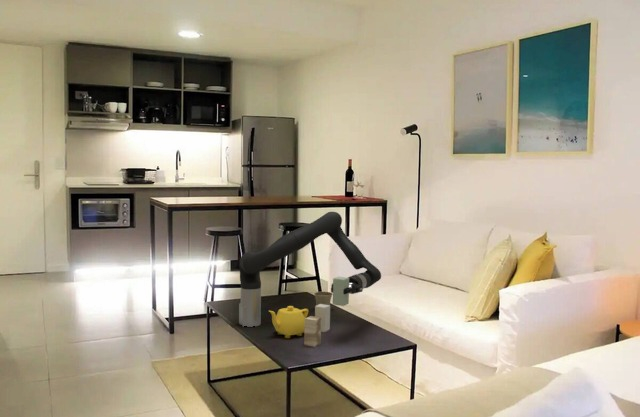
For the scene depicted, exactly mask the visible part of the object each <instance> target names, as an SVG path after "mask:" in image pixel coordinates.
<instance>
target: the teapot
mask: <svg viewBox="0 0 640 417" xmlns="http://www.w3.org/2000/svg"><path fill="white" fill-rule="evenodd" d="M268 312H270V314H271V322H272V325H273V327H274V329H275V331H276V332H277V335H284V338H285V339H290V338H291V336H295V335H296V336H297V337H302V336H303V333H304V329H305V318H307V317H308V314H309V309H308V308H303V309H299V308H296V307H294V306H293V305H288V306H287V307H285V308H284V307H283V308H280V309H278V311H277V313H276V312H275V311H273V310H268Z"/></svg>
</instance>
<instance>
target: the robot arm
mask: <svg viewBox="0 0 640 417" xmlns="http://www.w3.org/2000/svg"><path fill="white" fill-rule="evenodd" d="M342 223H343V217H342V215H341V214H340V213H338V212H337V211H328V212H326V213H324V214H323V215H322V216H321V217H318V218H317V219H316V220H314V221H312V222H310V223H308V224H305V225H303V226H301V227H298V228H296V229H294V230H292V231H289V232H288V233H286V234H284V235H282V236H281V237H279V238H278V239H276V240H275V241H274V242H273V243H271V245H269V246H267V248H264V249H262V250H260V251H257V252H254V251H247V252H246V251H245V252H244V253H243V254H242V255H241V257H240V259H239V260H240V261H239V281H240V302H239V303H238V324H239V325H240V326H241V325H242V326H241V327H242V328H244V326H247V327H246V328H251V327H252V328H253V326H255V327H258V326H261V321H262V320H261V314H262V313H261V312H262V311H261V310H262V308H261V306H262V305H261V304H262V281H261V276H260V275H261V271H262V270H264V269H266V268H267V267H268V266H270V265H271V264H273V263H275V262H277V261H279V260H281V259H283V258H286V257H287V256H290V255H292V254H294V253H297V251H300V250H301V249H303V248H305V247H306V246H308V245H309V244H311V243H312V242H313V241H315V240H316V239H317V238H319V237H321V236H323V235H325V234H327V235H328V236H329V237H330V238H331V239H332V240H333V241H334V243H335V244H336V245H337V246H338V247H339V249H340V250H341V252H342V253H343V254H344V256H345V258H346V259H347V260H348V262H349V263H350V264H351V266H352V267H353V268H354V269H355V270H361V269H363V268H364V269H365V271H363V272H359V273H355V274H353V275H351V276H348V277H347V278H349V287H348V288H345V289H344V290H343V294H347V293H349V295H354V294H358V293H361V292H362V293H363V292H364V291H363V290H364V289H368V288H370V287H372V286H373V285H374V284H377V283H378V282H379V281H380V280H381V278H382V272H381V271H380V270H379V269H378V267H377V266H375V265H374V264H373V263H371V262H370V261H369V260H368V259H367V258H366V257H365V255H364V254H363V253H362V250H360V249H359V247H358V246H357V245H356V244H355V243H354V242H353V241H351V239H350V238H349V237H348V236H347V235H346V234H345V232H344V230H343V228H342V227H341V226H342ZM330 293H332V294H333V283H332V284H331V288H330Z"/></svg>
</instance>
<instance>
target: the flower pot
mask: <svg viewBox="0 0 640 417" xmlns="http://www.w3.org/2000/svg"><path fill="white" fill-rule="evenodd" d="M313 294H314V298H315V304H316V305H315V306H317V305H319V304H324V305H330V306H331V299H332V298H333V293H332V292H331V291H330V292H329V291H315V292H314V293H313Z"/></svg>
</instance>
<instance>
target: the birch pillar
mask: <svg viewBox="0 0 640 417" xmlns="http://www.w3.org/2000/svg"><path fill="white" fill-rule="evenodd" d="M303 337H304V338H303V339H304V340H303V341H304V342H303V344H304V346H307V347H313V348H316V347H318V346H320V345H321V343H322V340H321V339H322V332H321V317H315V315H309V316H307V317H306V318H305V329H304V335H303Z"/></svg>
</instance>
